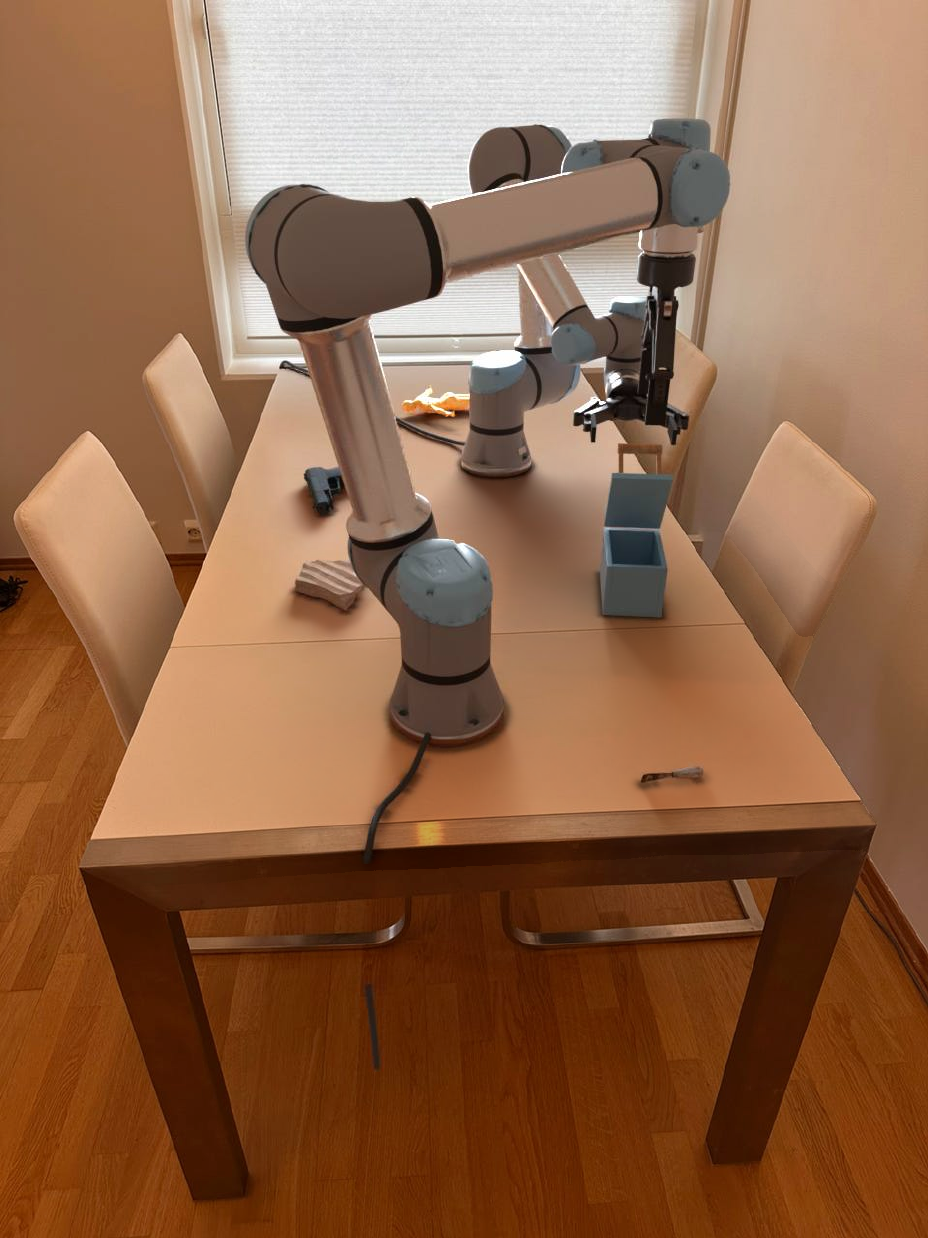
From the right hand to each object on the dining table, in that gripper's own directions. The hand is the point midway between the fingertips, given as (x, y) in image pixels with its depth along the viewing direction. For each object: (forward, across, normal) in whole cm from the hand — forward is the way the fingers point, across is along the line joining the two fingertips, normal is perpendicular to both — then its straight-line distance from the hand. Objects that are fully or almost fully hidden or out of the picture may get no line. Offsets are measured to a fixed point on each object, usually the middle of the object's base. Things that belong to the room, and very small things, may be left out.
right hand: (633, 436), depth 152 cm
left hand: (+19, 0, +12) cm, 22 cm away
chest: (+18, 0, -21) cm, 27 cm away
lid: (+16, 0, -6) cm, 17 cm away
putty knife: (+63, -2, -20) cm, 66 cm away
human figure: (-71, +39, -21) cm, 84 cm away
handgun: (-17, +56, -21) cm, 63 cm away
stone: (+21, +49, -21) cm, 57 cm away
